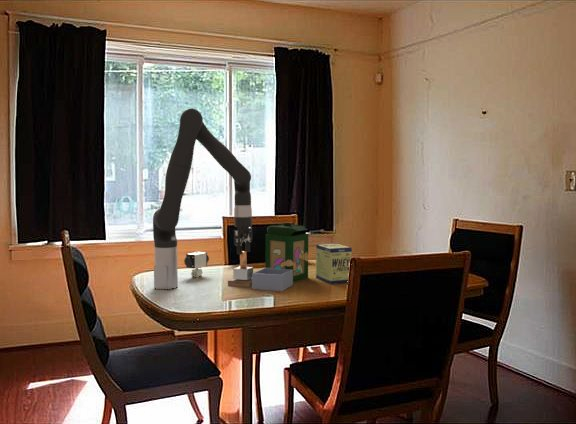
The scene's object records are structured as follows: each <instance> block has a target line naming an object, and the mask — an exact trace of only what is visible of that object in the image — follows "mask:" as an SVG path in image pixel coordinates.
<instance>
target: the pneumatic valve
mask: <svg viewBox="0 0 576 424" xmlns="http://www.w3.org/2000/svg"><path fill="white" fill-rule="evenodd" d="M209 259H210V256H209V255H208V252H206V251H198V250H195V252H191V253H186V254H185V258H184V262H183V263H184V265H185V266H186V268H187V269H191V273H190V274H191V275H190V276H191V277H192V276H195V277H194V278H196V277H197V278H200V277H199V276H202V277H203V269H202V268H204V267H208V263H209Z"/></svg>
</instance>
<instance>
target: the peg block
mask: <svg viewBox="0 0 576 424" xmlns="http://www.w3.org/2000/svg"><path fill="white" fill-rule="evenodd" d="M247 253H248V252H246V251H245V250H242V255H239V266H236V267H234V268H233V272H232V273H233V275H232V276H233V278H232V279H239V280H249V279H251V278H252V273H253V272H254V266H247V261H248V260H247V256H248V255H247Z"/></svg>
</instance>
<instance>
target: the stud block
mask: <svg viewBox="0 0 576 424" xmlns="http://www.w3.org/2000/svg"><path fill="white" fill-rule="evenodd" d="M227 286H232V287H241V288H242V287H243V288H244V287H245V288H250V287H251V288H252V278H251V279H249V280H239V279H233V278H231V279H228V280H227Z"/></svg>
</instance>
